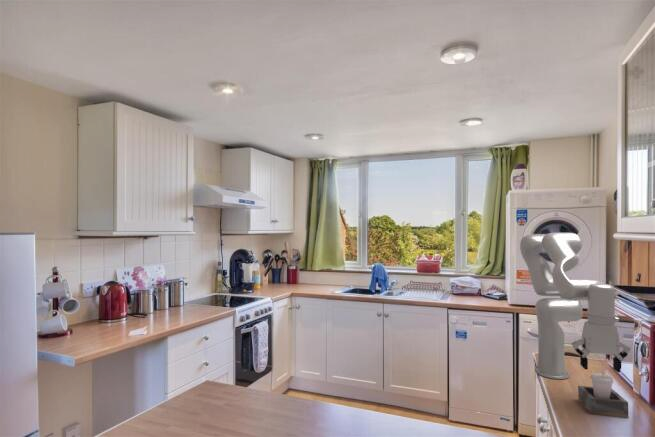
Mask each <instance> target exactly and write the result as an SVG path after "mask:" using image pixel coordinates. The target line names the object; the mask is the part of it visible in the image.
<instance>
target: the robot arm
mask: <svg viewBox="0 0 655 437" xmlns="http://www.w3.org/2000/svg"><path fill="white" fill-rule="evenodd" d="M582 247H583V242H582V239H581V237H580V236H579V235H578V234H576V233H574V232H550V233H549V232H548V233H531V234H526V235H525V236H523V237H522V238H521V240H520V245H519V249H520V254H521V256H522V258H523V260H524V262H525V264H526V266H527V269H528V272H529V276H530V279H531V283H532V287H533V290H534V293H535V294H536V295H538V296H540V297H541V296H542V297H545V298H541V299H538V300H537V301H536V303H535V306H534V308H535V310H534V311H535V315H536V320H537V337H538V338H537V340H538V341H537V346H538V348H537V349H538V350H537V351H538V356H537V357H538V359H537V360H538V365H537V366H535V367H534V372H535V373H536V374H537V375H538V376H539V375H540V376H542V377H545V378H547V379H553V380H565V379H568V378H570V373H569V371H567V370H566V369H565V359H566V358H565V331H564V330H563V327H561V325H560V324H559V322H578V321H580V320H581V319H582V318H583V316H584V315H583V314H584V313H583V312H584V310H583V307H582V304H581V301H587V321H586V320H585V321H584V323H583V327H582V333H581V338H580V339H578V340H575V341H573V342H571V346H572V347H573V349H574V351H575V352H576V353H577V354H578V355H580V356H579V357H580V360H579V361H580V366H581V367H582V368H583V369H584V370H588V367H589V366H588V362H589V361H588V360H589V359H588V358H587V357H588V355H590V354H599V355H613V356H614V357H613V360H612V366H613V367H612V369H613V370H614V371H615V372H617V373H620V372H621V370H622V361H623V360H624V359H625V358H626V357H627V356H628V354H629V353H630V351H631V347H630V346H628V345H626V344H624V343H622V342H620V335H619V330H618V326H617V325H616V322H619V321H620V318H619V317H618V316H617V317H616V316H615V315H616V314H615V310H616V309H615V305H616V304H615V302H616V298H615V296H616V295H615V294H616V293H615V292H616V291H615V287H614V286H613V285H611V284H609V283H603V282H601V281H599V280H598V279H583V278H581V279H580V278H579V279H578V278H575V279H574V278H573V279H572V278H571V277H570V276H569V275H567V274H566V273H567V272H569V271H571V270H573V269H574V268H576V266H577V265H578V264H579V261H580V260H579V256H578V255H577V254H576V253H579V252H580V251H581V250H582ZM540 254H547V255H548V257H549V258H550V259H551V261H552V262H553V264H554V267H553V268H552V269H553V270H552V269H551V266H550V263H549V262H548V261H547V259H546V258H544V257H543V255H540ZM546 297H547V298H546ZM548 297H549V298H548ZM557 297H560V298H557ZM579 346H581V348H582V349H581V350H580V347H579ZM620 348H622V350H621V349H620ZM620 350H621V352H620Z"/></svg>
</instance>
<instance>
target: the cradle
mask: <svg viewBox="0 0 655 437" xmlns="http://www.w3.org/2000/svg"><path fill="white" fill-rule="evenodd" d="M577 388H578V390H577V392H578V393H577V394H578V396H577V397H578V401H579V402H580V403H581V405H583V407H584V408H585V409H586V410H587V411H588V412H589V413H590V414H591V415H595V416H596V415H597V416H605V417H617V418H625V419H629V402H628V400H626V399H625V398H624V397H622V396H621V395H620V394H619V393H618V392H616V390H614V389H613V388H611V394H610V399H603V398H594V391H593V386H584V385H578V387H577Z"/></svg>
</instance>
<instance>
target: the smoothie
mask: <svg viewBox="0 0 655 437" xmlns="http://www.w3.org/2000/svg"><path fill="white" fill-rule="evenodd" d="M605 368H606V366H605V364H604V363H603V364H602V373H599V372H597V373H596V372H595V373H594V372H593V373H591V374H590V379H591V383H592V384H591V385H592V387H593V391H594V398H603V399H610V394H611V389H613V388H612V386H613V383H614V378H613V377H611V376H609V375H607V374H605V372H606V370H605Z"/></svg>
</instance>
